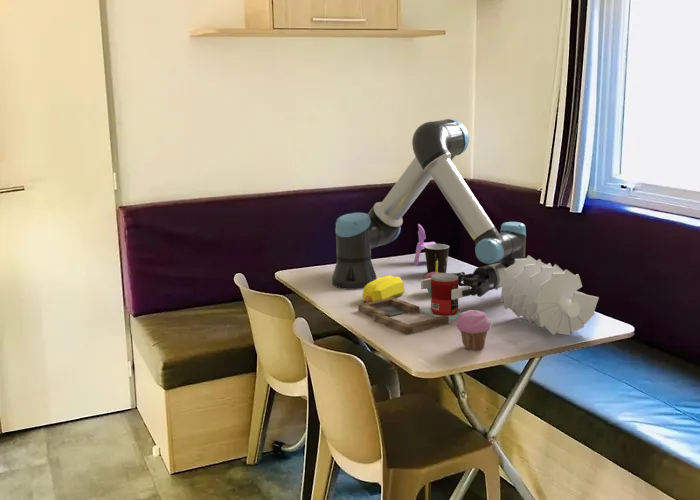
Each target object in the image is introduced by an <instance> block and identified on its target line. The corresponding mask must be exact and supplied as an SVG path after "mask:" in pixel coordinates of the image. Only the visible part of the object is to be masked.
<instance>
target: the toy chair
mask: <svg viewBox="0 0 700 500" xmlns="http://www.w3.org/2000/svg"><path fill="white" fill-rule="evenodd" d="M417 227H418V231H417V235H418V242H417V245H416V249H415V255H414V256H415V257H414V259H413V263H414V265H416V266H417V267H419V262H420V254H421V251H422V250H425V247H424V246H426V245H429V244H437V243H436V242H435V241H430V242H424V241H425V240H426V239H427V237H426V232H425V229H424V228H423V226H422V225H421V224H420V223H418V224H417Z"/></svg>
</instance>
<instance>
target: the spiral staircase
mask: <svg viewBox="0 0 700 500" xmlns="http://www.w3.org/2000/svg"><path fill="white" fill-rule="evenodd" d="M504 272H505V276H504V278H503V279H502V281H501V282H500V284H499V286H500V287H501V295H500V302H501V303H502V302H503V304H504V309H505V310H507V309H509V310H511V311H512V312H513V314H515V315H516V317H518V318H519V317H523V318H524V319H525V320H526V321H528V322H529V323H530V324H532V323H533V322H534V324H535V325H536V326H537V328H540V327H541V328H542V327H545V328H546V329H547V330H548V331H549V333H550V334H552V336H554V335H555V334H561V335H566V336H567V335H568V336H569V335H570V334H571V333H574V332H576V331H579V330H581V329H584V328H585V325H586V324H587V323H588V322H589V321H590V320H591V318H592V317H593V316H594V315H595V314H596V313H595V310H596V307H597V304H598V301H599V299H600V297H599V296H594V295H589V294H586V293H584V292H581V291H578V290H580V289H581V288H582V287H583V285H582V284H583V283H582V281H581V278H580V275H579V274H578V273H577V274H574V273H573V272H571V271H570V270H568V269H566V268H565V269H564V270H563V269H562V268H561V267H559V265H558V264H556V263H554V265H553V266H552V264H551V263H550V262H548V263H544V262H542V260H541V259H540V258H539V259H537V260H536V259H535V258H534V257H532V256H531V255H528V254H527V256H526V257H525V259H515V263H514V264H513V265H511V266H509V267H508V268H506V269H505V270H504Z"/></svg>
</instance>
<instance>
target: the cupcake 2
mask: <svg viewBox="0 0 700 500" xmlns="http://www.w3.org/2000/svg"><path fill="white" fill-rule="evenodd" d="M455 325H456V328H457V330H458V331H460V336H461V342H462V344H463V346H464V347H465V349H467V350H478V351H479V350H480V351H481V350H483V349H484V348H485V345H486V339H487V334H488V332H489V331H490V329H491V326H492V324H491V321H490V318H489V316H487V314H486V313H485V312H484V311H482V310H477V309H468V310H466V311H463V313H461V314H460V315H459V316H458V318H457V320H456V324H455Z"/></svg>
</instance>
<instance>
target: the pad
mask: <svg viewBox="0 0 700 500" xmlns="http://www.w3.org/2000/svg"><path fill="white" fill-rule="evenodd" d="M463 312H464V311H463ZM463 312H462V311H460V310H458V312H457V313H456V314H455V315H450V316H447V317H449V322H452V321H457V318H458V316H459V315H460V314H461V313H463ZM420 313H422V314H426V315H428V316H430V317H432V318H436V317H440V315H436V314H433V313H432V311H431V307H429V308H428V307H427V308H424V309H421V310H420Z"/></svg>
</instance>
